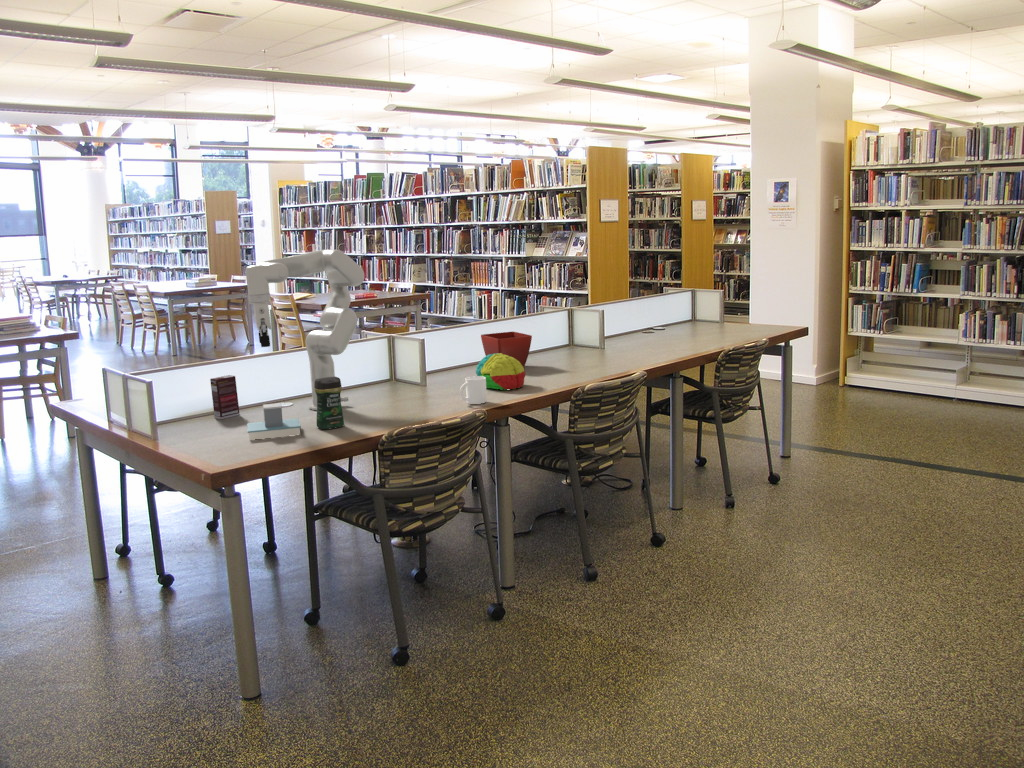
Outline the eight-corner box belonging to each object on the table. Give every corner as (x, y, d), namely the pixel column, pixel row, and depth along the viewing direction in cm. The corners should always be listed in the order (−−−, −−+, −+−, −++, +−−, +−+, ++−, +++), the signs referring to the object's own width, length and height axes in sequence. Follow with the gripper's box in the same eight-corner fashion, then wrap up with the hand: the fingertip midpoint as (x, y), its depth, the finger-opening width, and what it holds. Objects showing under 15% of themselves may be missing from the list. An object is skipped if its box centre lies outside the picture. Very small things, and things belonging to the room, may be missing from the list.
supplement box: (233, 413, 335) (229, 374, 332) (240, 415, 332) (236, 375, 328) (213, 418, 328) (209, 378, 325) (220, 419, 325) (216, 379, 322)
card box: (282, 422, 303) (280, 403, 301) (283, 425, 298) (281, 406, 296) (264, 423, 301) (262, 404, 300) (265, 427, 296) (263, 407, 294)
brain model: (466, 385, 373) (466, 352, 370) (498, 379, 386) (498, 347, 383) (502, 395, 357) (502, 361, 353) (533, 388, 369) (534, 355, 366)
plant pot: (533, 369, 412) (532, 335, 408) (499, 373, 402) (498, 338, 399) (514, 363, 428) (513, 331, 425) (481, 368, 419) (479, 334, 415)
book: (299, 428, 309) (298, 418, 308) (301, 437, 297) (300, 426, 296) (248, 433, 304) (247, 423, 303) (248, 442, 292) (247, 431, 291)
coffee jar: (322, 431, 302) (318, 380, 298) (314, 427, 308) (310, 377, 305) (347, 426, 307) (344, 377, 303) (338, 423, 313) (335, 374, 310)
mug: (465, 407, 332) (464, 382, 330) (454, 404, 339) (453, 379, 337) (490, 403, 339) (489, 378, 337) (479, 399, 346) (478, 375, 344)
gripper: (271, 300, 302) (277, 347, 306) (268, 295, 318) (273, 340, 322) (250, 302, 299) (255, 349, 303) (247, 297, 315) (253, 342, 319)
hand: (264, 344), depth 312 cm, fingers open, 9 cm apart
